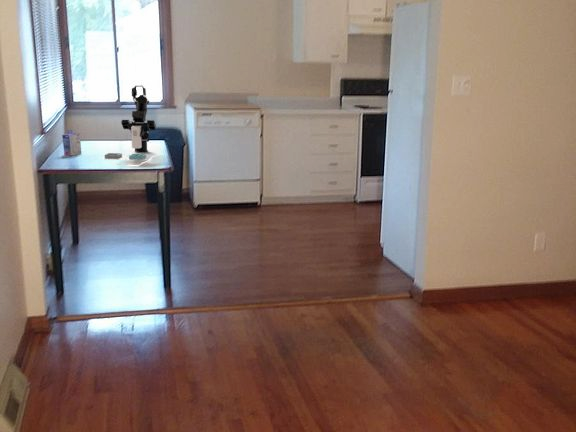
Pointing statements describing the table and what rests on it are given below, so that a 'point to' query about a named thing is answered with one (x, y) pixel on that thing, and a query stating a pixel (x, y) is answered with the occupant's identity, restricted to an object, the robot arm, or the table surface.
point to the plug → (136, 137)
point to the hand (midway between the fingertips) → (136, 136)
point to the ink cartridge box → (71, 143)
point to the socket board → (119, 156)
